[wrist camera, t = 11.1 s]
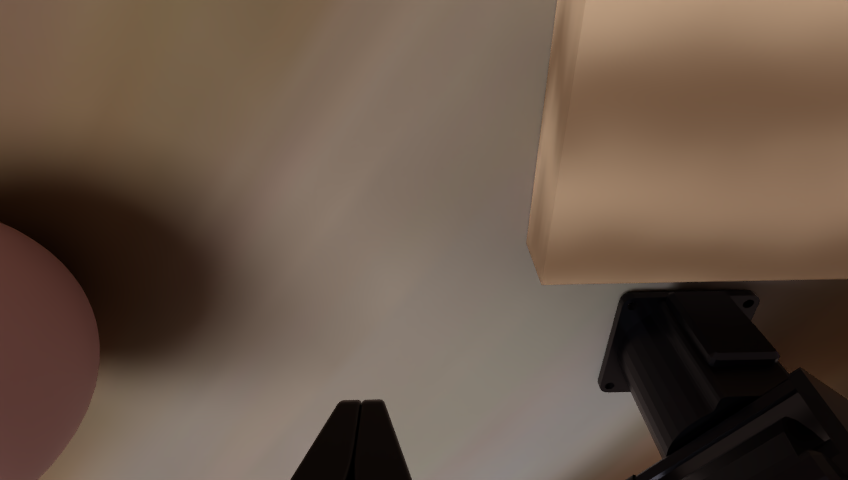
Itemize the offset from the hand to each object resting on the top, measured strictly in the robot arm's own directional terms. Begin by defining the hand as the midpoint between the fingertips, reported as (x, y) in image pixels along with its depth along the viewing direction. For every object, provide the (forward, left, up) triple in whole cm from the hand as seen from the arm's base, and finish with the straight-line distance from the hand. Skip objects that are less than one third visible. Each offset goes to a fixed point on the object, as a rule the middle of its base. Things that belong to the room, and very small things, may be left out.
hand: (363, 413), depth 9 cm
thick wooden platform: (+3, -14, -12) cm, 19 cm away
